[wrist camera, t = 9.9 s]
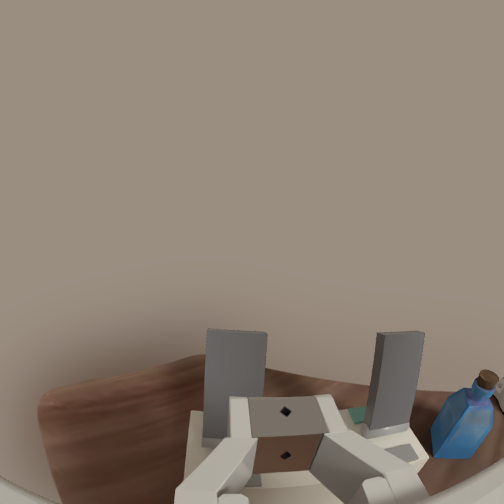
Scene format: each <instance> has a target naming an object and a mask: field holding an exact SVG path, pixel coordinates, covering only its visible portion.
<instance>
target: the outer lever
mask: <svg viewBox="0 0 504 504" xmlns="http://www.w3.org/2000/svg"><path fill="white" fill-rule="evenodd" d="M266 349H267V333H265V332H256V331H238V330H237V331H235V330H220V329H209V328H208V329H207V341H206V359H205V382H204V411H203V429H202V447H203V448H216V447H217V446H218V444H219V443H220V442H221V441H222V440H223V439H224V438H225V437H227V422H228V405H229V396H235V397H263V390H264V377H265V363H266Z"/></svg>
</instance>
